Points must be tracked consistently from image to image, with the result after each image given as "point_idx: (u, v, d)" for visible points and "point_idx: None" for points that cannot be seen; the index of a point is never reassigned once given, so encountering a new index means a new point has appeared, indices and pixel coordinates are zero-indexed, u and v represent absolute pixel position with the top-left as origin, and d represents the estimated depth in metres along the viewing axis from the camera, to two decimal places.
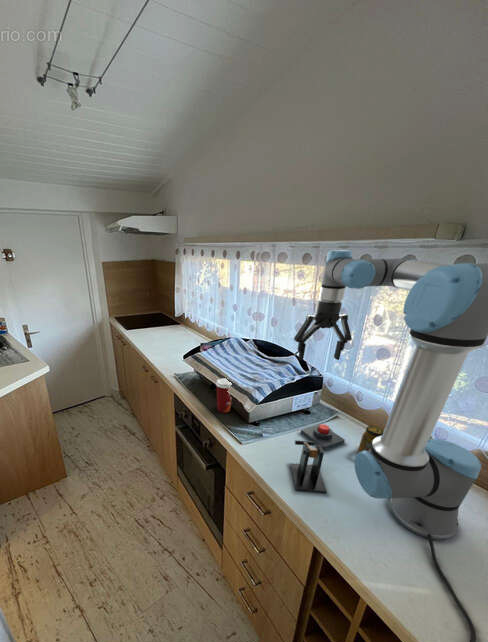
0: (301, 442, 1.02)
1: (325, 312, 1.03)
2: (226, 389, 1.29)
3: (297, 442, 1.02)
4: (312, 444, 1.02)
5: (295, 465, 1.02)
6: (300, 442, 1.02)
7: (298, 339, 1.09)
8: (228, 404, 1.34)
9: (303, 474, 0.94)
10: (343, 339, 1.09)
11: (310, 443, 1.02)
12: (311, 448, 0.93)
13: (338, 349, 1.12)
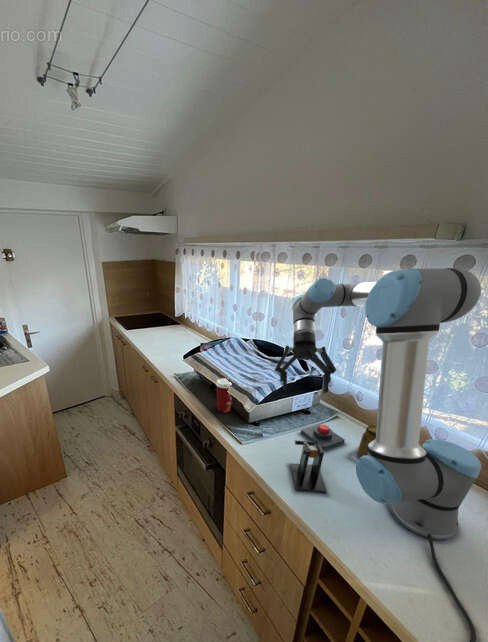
0: (301, 442, 1.02)
1: (299, 339, 1.07)
2: (226, 389, 1.29)
3: (297, 442, 1.02)
4: (312, 444, 1.02)
5: (295, 465, 1.02)
6: (300, 442, 1.02)
7: (278, 366, 1.07)
8: (228, 404, 1.34)
9: (303, 474, 0.94)
10: (327, 369, 1.05)
11: (310, 443, 1.02)
12: (311, 448, 0.93)
13: (325, 380, 1.05)
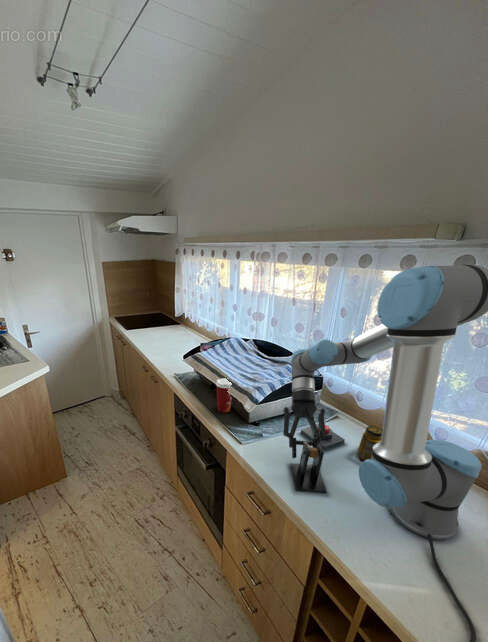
0: (301, 442, 1.02)
1: (298, 398, 1.04)
2: (226, 389, 1.29)
3: (297, 442, 1.02)
4: (312, 444, 1.02)
5: (295, 465, 1.02)
6: (300, 442, 1.02)
7: (286, 432, 1.03)
8: (228, 404, 1.34)
9: (303, 474, 0.94)
10: (317, 435, 1.02)
11: (310, 443, 1.02)
12: (311, 448, 0.93)
13: (314, 447, 1.01)
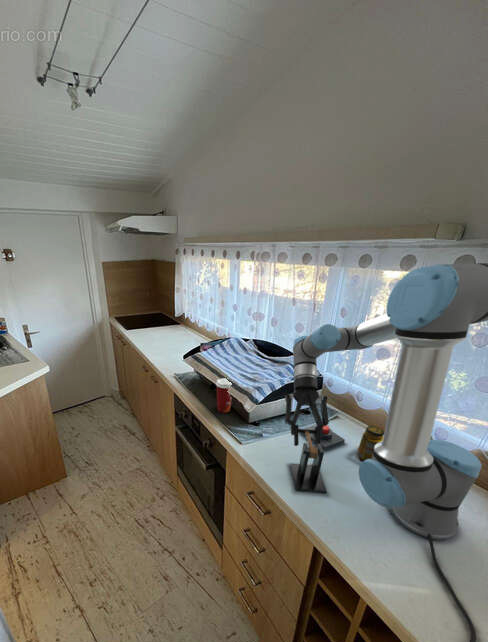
0: (303, 431, 1.00)
1: (300, 385, 1.02)
2: (226, 389, 1.29)
3: (299, 431, 1.01)
4: (314, 433, 1.00)
5: (295, 465, 1.02)
6: (302, 431, 1.00)
7: (288, 419, 1.01)
8: (228, 404, 1.34)
9: (303, 474, 0.94)
10: (319, 422, 1.00)
11: (312, 432, 1.00)
12: (311, 449, 0.92)
13: (316, 434, 0.99)
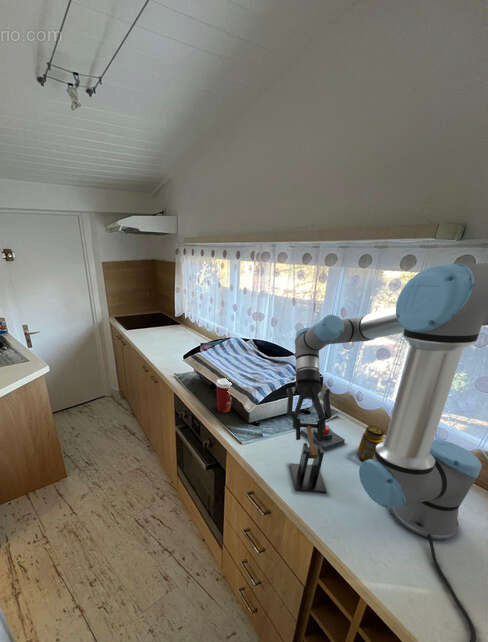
0: (305, 426, 0.98)
1: (302, 378, 1.00)
2: (226, 389, 1.29)
3: (300, 426, 0.99)
4: (316, 427, 0.98)
5: (295, 465, 1.02)
6: (304, 426, 0.99)
7: (290, 412, 0.99)
8: (228, 404, 1.34)
9: (303, 474, 0.94)
10: (322, 415, 0.97)
11: (314, 427, 0.98)
12: (311, 450, 0.92)
13: (319, 428, 0.97)
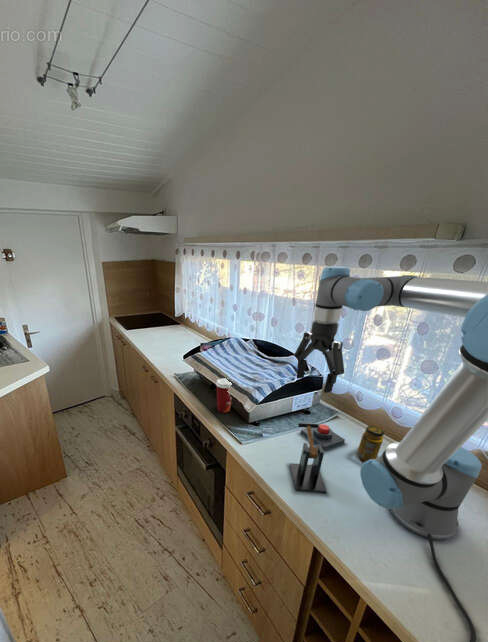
0: (305, 426, 0.98)
1: (311, 331, 0.96)
2: (226, 389, 1.29)
3: (300, 426, 0.99)
4: (316, 427, 0.98)
5: (295, 465, 1.02)
6: (304, 426, 0.99)
7: (295, 354, 1.07)
8: (228, 404, 1.34)
9: (303, 474, 0.94)
10: (330, 370, 0.95)
11: (314, 427, 0.98)
12: (311, 450, 0.92)
13: None
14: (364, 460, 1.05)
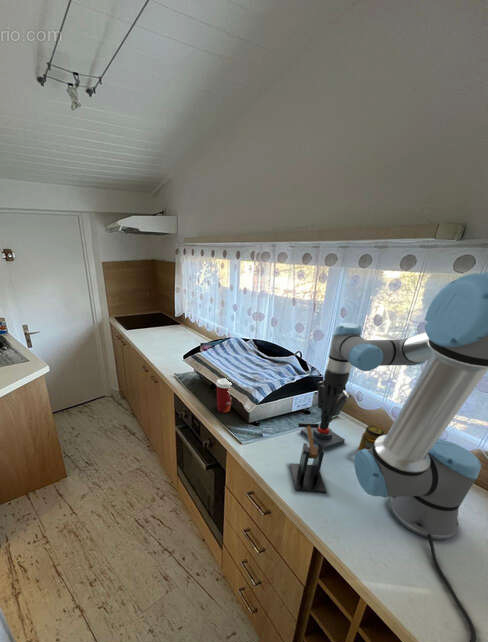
0: (305, 426, 0.98)
1: (324, 377, 1.05)
2: (226, 389, 1.29)
3: (300, 426, 0.99)
4: (316, 427, 0.98)
5: (295, 465, 1.02)
6: (304, 426, 0.99)
7: (319, 405, 1.13)
8: (228, 404, 1.34)
9: (303, 474, 0.94)
10: (328, 411, 1.09)
11: (314, 427, 0.98)
12: (311, 450, 0.92)
13: None
14: None
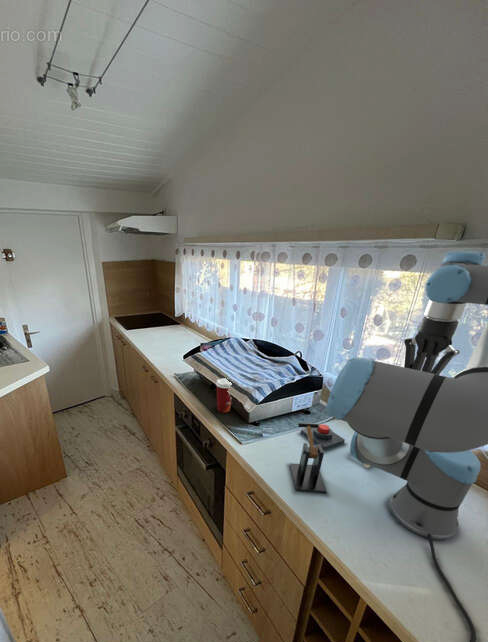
0: (305, 426, 0.98)
1: (420, 330, 0.81)
2: (226, 389, 1.29)
3: (300, 426, 0.99)
4: (316, 427, 0.98)
5: (295, 465, 1.02)
6: (304, 426, 0.99)
7: None
8: (228, 404, 1.34)
9: (303, 474, 0.94)
10: None
11: (314, 427, 0.98)
12: (311, 450, 0.92)
13: None
14: None
